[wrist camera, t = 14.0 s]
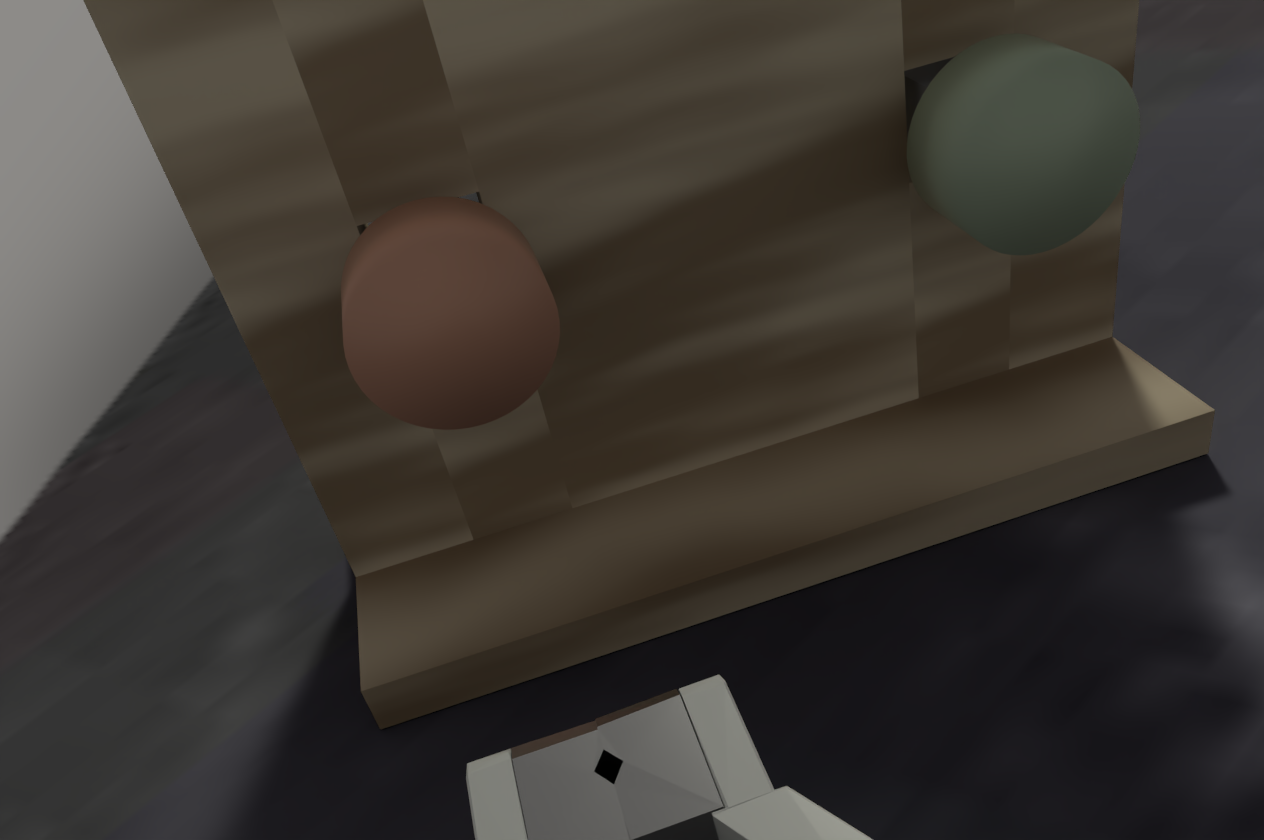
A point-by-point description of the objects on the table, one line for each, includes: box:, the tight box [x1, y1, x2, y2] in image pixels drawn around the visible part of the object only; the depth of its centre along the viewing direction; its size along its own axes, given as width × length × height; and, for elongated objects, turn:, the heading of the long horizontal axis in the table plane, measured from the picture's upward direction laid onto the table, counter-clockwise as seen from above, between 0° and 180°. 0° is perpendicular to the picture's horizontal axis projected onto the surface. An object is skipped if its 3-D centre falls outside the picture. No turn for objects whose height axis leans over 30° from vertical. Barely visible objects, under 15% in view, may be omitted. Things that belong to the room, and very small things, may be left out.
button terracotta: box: [341, 197, 560, 430], centre depth 25 cm, size 7×5×5 cm, turn 15°
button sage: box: [904, 33, 1140, 255], centre depth 27 cm, size 7×5×5 cm, turn 15°
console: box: [84, 0, 1215, 730], centre depth 27 cm, size 10×24×20 cm, turn 105°
